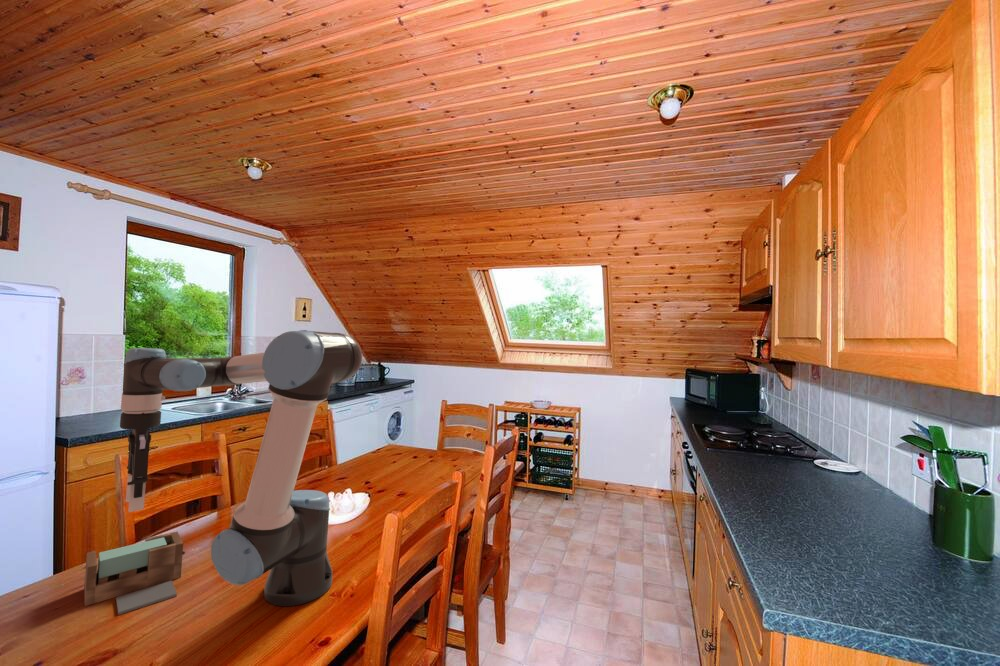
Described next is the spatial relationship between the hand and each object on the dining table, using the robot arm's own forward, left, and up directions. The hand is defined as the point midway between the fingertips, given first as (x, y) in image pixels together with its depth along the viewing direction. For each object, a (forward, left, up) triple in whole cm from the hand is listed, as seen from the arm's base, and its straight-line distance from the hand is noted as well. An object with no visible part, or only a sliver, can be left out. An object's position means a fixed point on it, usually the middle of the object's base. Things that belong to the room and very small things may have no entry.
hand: (134, 505), depth 99 cm
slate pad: (-9, -3, -19) cm, 21 cm away
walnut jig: (0, -1, -19) cm, 19 cm away
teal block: (0, -1, -15) cm, 15 cm away
